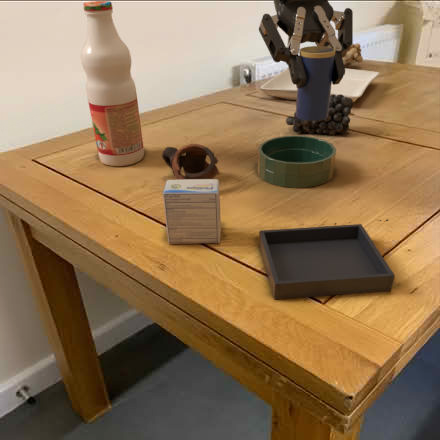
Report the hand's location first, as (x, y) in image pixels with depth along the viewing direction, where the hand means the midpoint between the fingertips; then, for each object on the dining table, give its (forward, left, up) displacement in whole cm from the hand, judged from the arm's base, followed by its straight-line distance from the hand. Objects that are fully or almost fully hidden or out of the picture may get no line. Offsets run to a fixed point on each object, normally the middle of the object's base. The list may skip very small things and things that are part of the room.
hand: (320, 82), depth 66 cm
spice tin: (0, -2, -5) cm, 5 cm away
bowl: (-1, -15, -20) cm, 25 cm away
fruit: (-11, -37, -20) cm, 43 cm away
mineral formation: (-34, -98, -20) cm, 105 cm away
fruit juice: (+33, -28, -20) cm, 48 cm away
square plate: (-20, -70, -20) cm, 75 cm away
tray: (+2, +16, -20) cm, 26 cm away
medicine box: (+19, +6, -20) cm, 29 cm away
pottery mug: (+19, -14, -20) cm, 31 cm away
